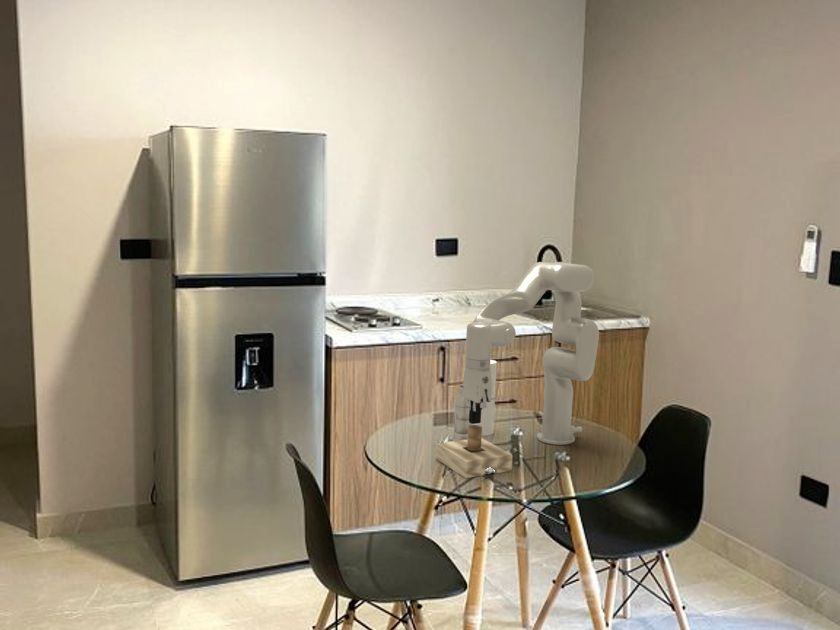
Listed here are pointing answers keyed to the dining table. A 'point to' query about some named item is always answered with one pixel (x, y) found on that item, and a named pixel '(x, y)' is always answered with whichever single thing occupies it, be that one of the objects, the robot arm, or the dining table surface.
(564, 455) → the dining table surface
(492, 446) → the block
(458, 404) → the plastic bottle
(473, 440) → the peg
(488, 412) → the cylindrical container
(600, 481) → the dining table surface
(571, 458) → the dining table surface
